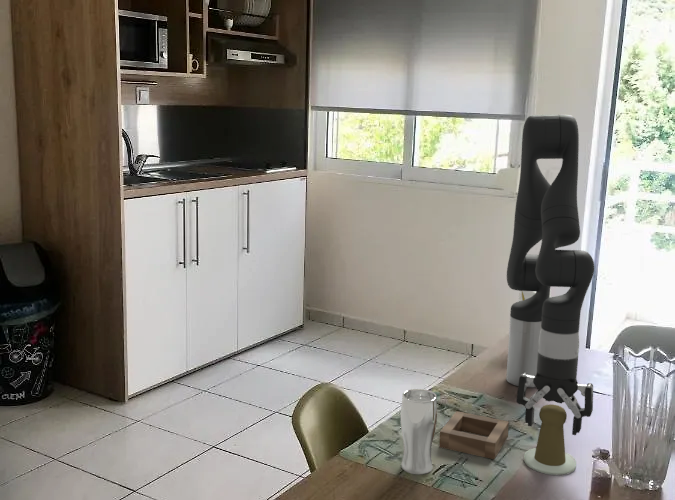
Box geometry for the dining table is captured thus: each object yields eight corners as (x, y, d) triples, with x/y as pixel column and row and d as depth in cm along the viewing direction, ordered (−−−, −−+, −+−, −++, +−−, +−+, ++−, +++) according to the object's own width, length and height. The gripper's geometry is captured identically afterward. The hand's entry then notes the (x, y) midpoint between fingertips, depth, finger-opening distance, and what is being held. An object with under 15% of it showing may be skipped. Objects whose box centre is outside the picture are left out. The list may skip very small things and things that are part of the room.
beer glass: (425, 479, 141) (428, 405, 138) (392, 469, 144) (395, 397, 141) (440, 464, 147) (443, 393, 144) (408, 455, 150) (411, 385, 147)
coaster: (529, 447, 155) (529, 443, 154) (579, 457, 150) (579, 454, 150) (518, 467, 146) (519, 464, 146) (571, 479, 141) (571, 475, 141)
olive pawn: (566, 467, 144) (570, 414, 142) (534, 464, 146) (538, 411, 143) (564, 453, 150) (568, 402, 148) (533, 450, 151) (537, 399, 149)
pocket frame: (455, 425, 164) (456, 411, 163) (507, 436, 159) (508, 421, 159) (439, 447, 154) (439, 431, 153) (494, 459, 149) (495, 443, 148)
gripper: (599, 351, 144) (592, 429, 147) (525, 340, 150) (520, 415, 153) (594, 363, 137) (587, 444, 140) (516, 351, 143) (511, 429, 146)
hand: (552, 429), depth 147 cm, fingers open, 8 cm apart
